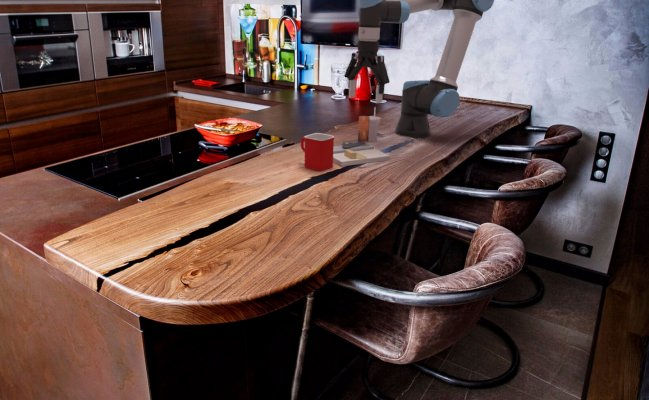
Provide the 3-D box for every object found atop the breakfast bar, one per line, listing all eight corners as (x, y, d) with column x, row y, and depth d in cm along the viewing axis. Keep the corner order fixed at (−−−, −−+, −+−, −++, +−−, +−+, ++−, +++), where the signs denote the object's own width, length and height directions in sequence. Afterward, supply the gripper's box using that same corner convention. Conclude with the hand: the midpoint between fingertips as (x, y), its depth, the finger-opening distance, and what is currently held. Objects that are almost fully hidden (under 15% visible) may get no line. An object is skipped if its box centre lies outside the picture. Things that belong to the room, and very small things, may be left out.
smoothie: (378, 143, 201) (380, 109, 196) (363, 142, 202) (364, 108, 197) (380, 139, 207) (382, 106, 201) (364, 138, 208) (366, 105, 203)
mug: (335, 166, 170) (336, 136, 166) (320, 172, 164) (321, 141, 160) (308, 159, 177) (309, 130, 173) (293, 164, 170) (293, 134, 167)
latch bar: (347, 148, 181) (348, 121, 177) (339, 146, 184) (340, 119, 180) (370, 143, 189) (371, 117, 185) (362, 141, 192) (364, 115, 188)
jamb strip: (365, 148, 192) (365, 142, 192) (373, 152, 187) (374, 146, 187) (319, 154, 184) (320, 147, 183) (327, 158, 179) (327, 151, 178)
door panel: (374, 152, 187) (375, 143, 186) (389, 159, 179) (390, 149, 177) (328, 158, 178) (328, 148, 177) (341, 166, 170) (342, 155, 169)
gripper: (336, 38, 181) (334, 96, 189) (388, 42, 164) (383, 106, 172) (351, 37, 186) (348, 94, 194) (402, 42, 169) (397, 104, 177)
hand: (364, 100), depth 183 cm, fingers open, 13 cm apart
